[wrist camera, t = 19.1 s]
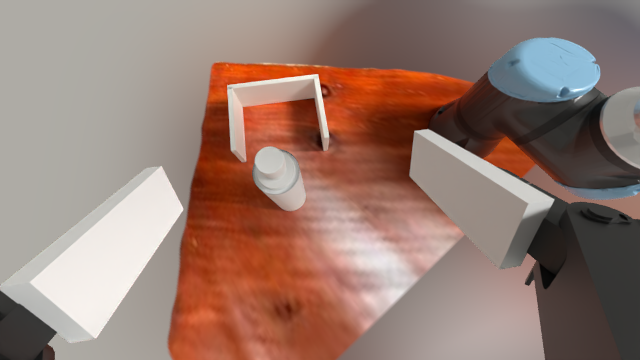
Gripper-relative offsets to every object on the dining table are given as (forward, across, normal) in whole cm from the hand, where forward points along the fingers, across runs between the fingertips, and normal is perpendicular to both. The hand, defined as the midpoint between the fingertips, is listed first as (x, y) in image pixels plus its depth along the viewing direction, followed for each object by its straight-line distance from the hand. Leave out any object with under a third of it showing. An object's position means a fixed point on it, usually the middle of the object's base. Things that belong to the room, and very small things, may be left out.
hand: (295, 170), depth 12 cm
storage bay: (+43, -4, -10) cm, 45 cm away
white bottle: (+31, -4, -22) cm, 39 cm away
